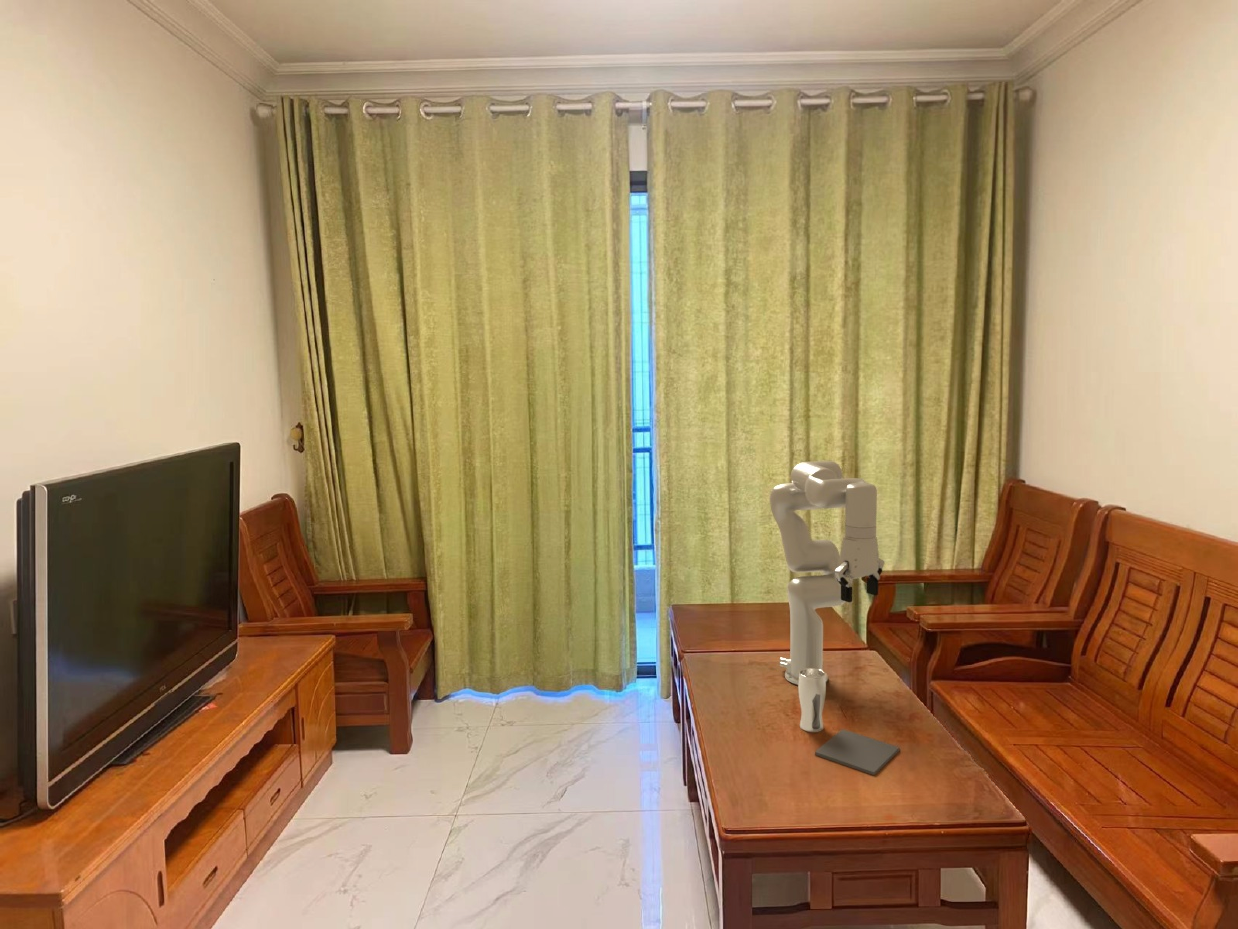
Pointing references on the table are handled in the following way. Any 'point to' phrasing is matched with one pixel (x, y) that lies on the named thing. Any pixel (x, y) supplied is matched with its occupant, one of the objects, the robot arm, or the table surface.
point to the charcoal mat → (857, 751)
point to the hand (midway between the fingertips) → (859, 597)
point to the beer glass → (811, 698)
